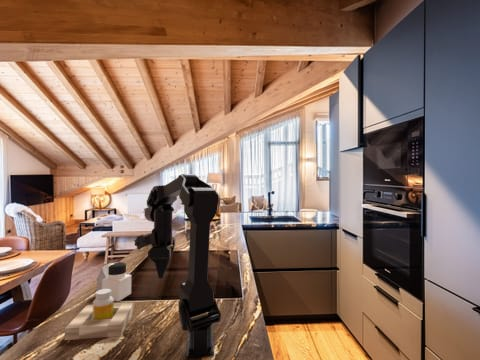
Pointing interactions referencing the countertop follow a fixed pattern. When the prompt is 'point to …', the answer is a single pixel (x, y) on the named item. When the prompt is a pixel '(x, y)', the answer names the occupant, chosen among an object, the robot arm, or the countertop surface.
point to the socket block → (99, 323)
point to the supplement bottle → (103, 305)
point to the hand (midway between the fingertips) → (162, 273)
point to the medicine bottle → (117, 281)
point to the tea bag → (102, 276)
